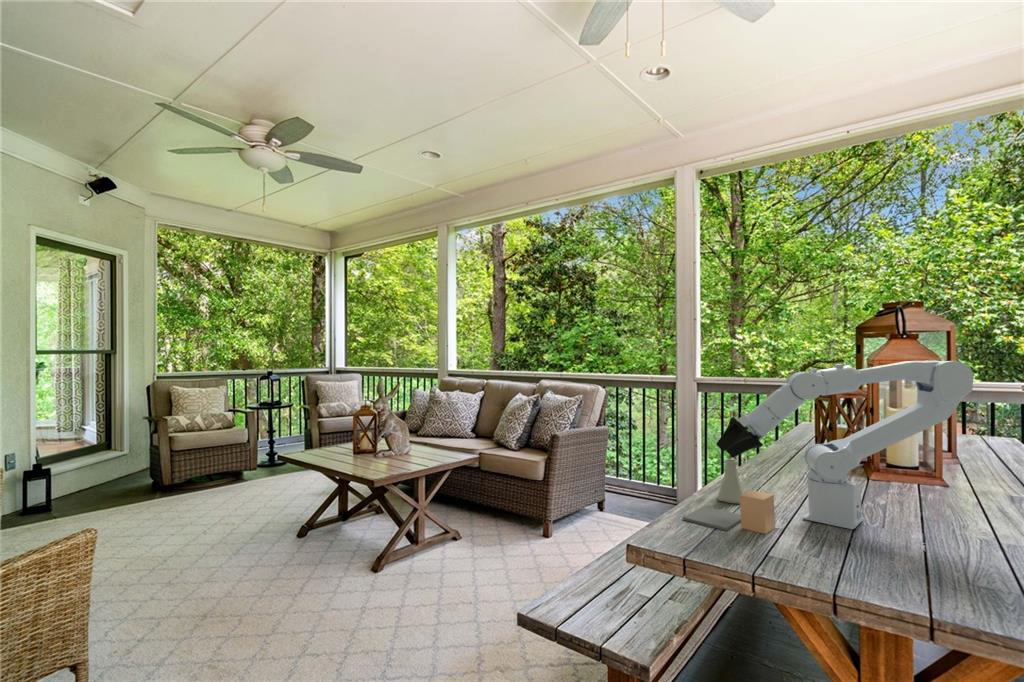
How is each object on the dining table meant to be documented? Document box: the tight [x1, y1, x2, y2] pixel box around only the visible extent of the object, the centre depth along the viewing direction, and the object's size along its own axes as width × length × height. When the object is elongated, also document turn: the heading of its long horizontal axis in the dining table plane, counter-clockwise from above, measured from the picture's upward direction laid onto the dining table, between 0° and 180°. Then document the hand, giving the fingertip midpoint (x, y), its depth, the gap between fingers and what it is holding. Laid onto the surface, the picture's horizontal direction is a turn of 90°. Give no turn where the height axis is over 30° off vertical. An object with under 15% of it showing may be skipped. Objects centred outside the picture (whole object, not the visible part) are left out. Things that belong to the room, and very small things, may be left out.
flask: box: [717, 458, 746, 505], centre depth 122 cm, size 7×7×10 cm
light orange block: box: [739, 489, 776, 535], centre depth 103 cm, size 5×5×7 cm
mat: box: [682, 506, 741, 532], centre depth 109 cm, size 10×10×1 cm
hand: (724, 451), depth 113 cm, fingers open, 7 cm apart
